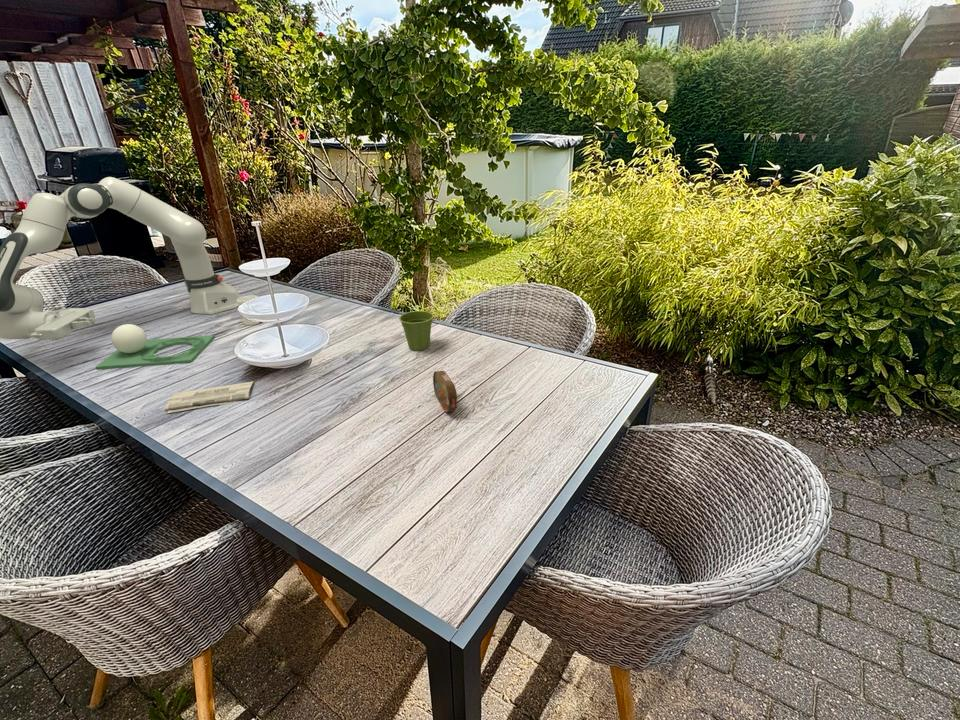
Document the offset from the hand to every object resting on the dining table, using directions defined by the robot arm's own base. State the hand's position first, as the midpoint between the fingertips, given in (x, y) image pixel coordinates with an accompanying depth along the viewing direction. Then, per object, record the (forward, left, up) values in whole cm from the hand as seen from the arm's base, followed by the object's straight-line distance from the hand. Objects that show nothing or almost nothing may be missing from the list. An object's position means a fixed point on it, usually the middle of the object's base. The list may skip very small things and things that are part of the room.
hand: (92, 322), depth 162 cm
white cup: (-49, -2, -13) cm, 51 cm away
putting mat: (-15, +8, -13) cm, 22 cm away
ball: (-8, +4, -7) cm, 12 cm away
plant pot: (-91, +60, -13) cm, 110 cm away
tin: (-79, +98, -13) cm, 127 cm away
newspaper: (-26, +54, -14) cm, 62 cm away
